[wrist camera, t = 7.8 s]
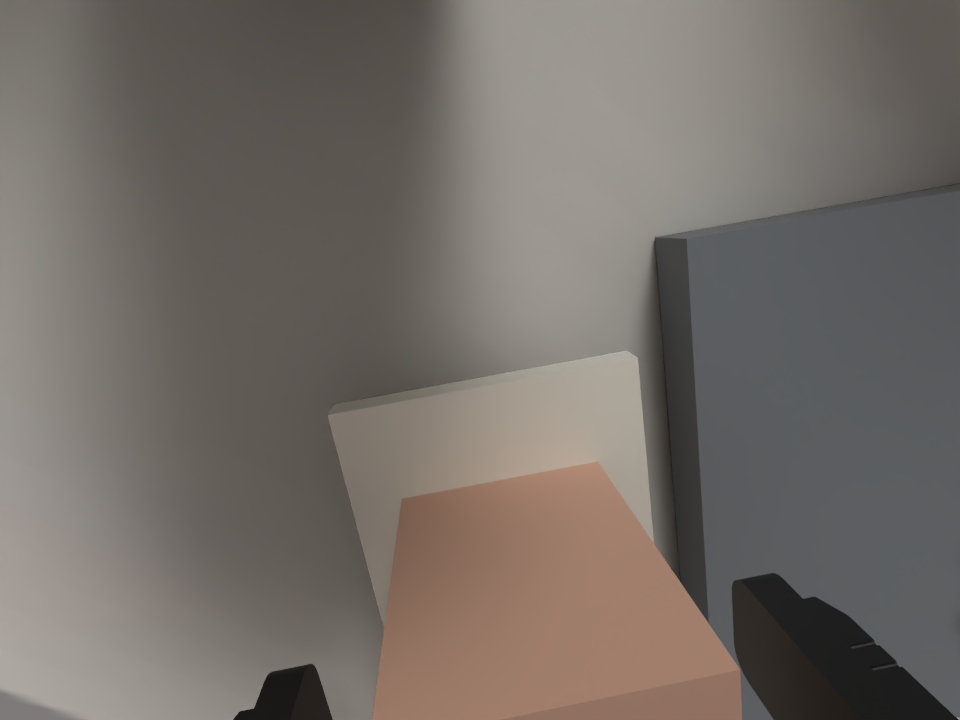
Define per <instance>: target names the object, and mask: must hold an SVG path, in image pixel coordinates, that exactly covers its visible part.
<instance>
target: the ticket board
mask: <svg viewBox="0 0 960 720" xmlns="http://www.w3.org/2000/svg"><path fill="white" fill-rule="evenodd" d="M655 243H656V257H657V270H658V284H659V297H660V311H661V325H662V338H663V352H664V365H665V379H666V392H667V406H668V419H669V433H670V446H671V460H672V473H673V487H674V501H675V514H676V528H677V541H678V555H679V568H680V582H681V584H682V585H683V587H684V588H685V590H686V591H687V593H688V594H689V595H690V597H691V598H692V600H693V601H694V603H695V604H696V606H697V607H698V609H699V610H700V612H701V613H702V614H703V616H704V617H705V619H706V620H707V622H708V623H709V625H710V626H711V628H712V629H713V631H714V632H715V633H716V635H717V636H718V638H719V639H720V641H721V642H722V644H723V645H724V647H725V648H726V650H727V651H728V653H729V654H730V655H731V657H732V658H733V660H734V661H735V663H736V664H737V666H738V667H739V669H740V676H741V701H742V720H774V719H773V718H772V716H771V715H770V713H769V712H768V711H767V709H766V708H765V706H764V705H763V703H762V702H761V700H760V699H759V697H758V696H757V694H756V693H755V691H754V690H753V689H752V687H751V686H750V684H749V683H748V681H747V679H746V677H745V676H744V674H743V672H742V669H741V667H740V665H739V662H738V659H737V656H736V652H735V647H734V632H733V608H732V584H733V582H734V581H735V580H739V579H744V578H749V577H754V576H759V575H764V574H769V573H776V574H778V575H779V576H781V577H782V578H783V579H784V580H785V581H786V582H787V583H788V584H789V585H790V586H791V587H792V588H793V589H794V590H795V591H796V592H797V593H798V594H799V595H800V596H801V597H802V598H803V599H805V598H810V597H817V598H819V599H820V600H822V601H824V602H826V603H827V604H829V605H831V606H833V607H834V608H836V609H838V610H840V611H842V612H843V613H845V614H847V615H848V616H849V617H850V618H851V619H852V620H854V621H855V622H856V623H857V624H858V625H859V626H860V627H861V628H862V629H863V630H864V631H865V632H866V633H867V634H868V635H869V636H870V637H872V638H873V639H874V642H875V644H876V645H880V646H881V647H882V648H883V649H884V650H885V651H886V652H887V653H888V654H889V655H891V656H892V657H893V658H894V659H895V660H896V661H897V664H898V666H899V667H903V668H904V669H905V670H906V671H907V672H909V673H910V674H911V675H912V676H913V677H914V678H915V679H916V680H917V681H918V682H919V683H920V684H921V685H922V686H923V687H924V688H925V689H927V690H928V691H929V692H930V693H931V694H932V695H933V696H934V697H935V698H936V699H937V700H938V701H939V702H940V703H941V704H942V705H943V706H944V707H946V708H947V709H948V710H949V711H950V712H951V713H952V714H953V715H954V716H955V717H960V184H955V185H949V186H943V187H938V188H932V189H926V190H921V191H915V192H909V193H904V194H898V195H893V196H887V197H881V198H876V199H870V200H864V201H859V202H853V203H847V204H842V205H836V206H830V207H825V208H819V209H813V210H808V211H802V212H796V213H791V214H785V215H779V216H774V217H768V218H762V219H757V220H751V221H745V222H740V223H734V224H728V225H723V226H717V227H711V228H706V229H700V230H694V231H689V232H683V233H677V234H672V235H666V236H660V237H655Z"/></svg>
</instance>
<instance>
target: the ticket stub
mask: <svg viewBox="0 0 960 720" xmlns="http://www.w3.org/2000/svg"><path fill="white" fill-rule="evenodd" d="M327 416H328V420H329V423H330V427H331V431H332V435H333V439H334V442H335V446H336V450H337V454H338V458H339V461H340V465H341V469H342V473H343V476H344V480H345V484H346V488H347V492H348V495H349V499H350V503H351V507H352V511H353V514H354V518H355V522H356V526H357V530H358V533H359V537H360V541H361V545H362V548H363V552H364V556H365V560H366V564H367V567H368V571H369V575H370V579H371V583H372V586H373V590H374V594H375V598H376V602H377V605H378V609H379V613H380V617H381V620H382V624H383V628H384V633H383V640H382V648H381V655H380V662H379V670H378V677H377V684H376V692H375V699H374V706H373V714H372V720H742V701H741V676H740V669H739V667H738V666H737V664H736V663H735V661H734V660H733V658H732V657H731V655H730V654H729V653H728V651H727V650H726V648H725V647H724V645H723V644H722V642H721V641H720V639H719V638H718V636H717V635H716V633H715V632H714V631H713V629H712V628H711V626H710V625H709V623H708V622H707V620H706V619H705V617H704V616H703V614H702V613H701V612H700V610H699V609H698V607H697V606H696V604H695V603H694V601H693V600H692V598H691V597H690V595H689V594H688V593H687V591H686V590H685V588H684V587H683V585H682V584H681V582H680V581H679V579H678V578H677V576H676V575H675V573H674V572H673V571H672V569H671V568H670V566H669V565H668V563H667V562H666V560H665V559H664V557H663V556H662V554H661V553H660V552H659V550H658V549H657V547H656V546H655V544H654V536H653V525H652V514H651V502H650V491H649V479H648V468H647V457H646V445H645V434H644V423H643V411H642V400H641V389H640V377H639V366H638V358H637V357H636V356H634V355H633V354H631V353H629V352H628V351H622V352H616V353H611V354H606V355H600V356H595V357H589V358H584V359H578V360H573V361H568V362H562V363H557V364H551V365H546V366H540V367H535V368H529V369H524V370H519V371H513V372H508V373H502V374H497V375H491V376H486V377H481V378H475V379H470V380H464V381H459V382H453V383H448V384H443V385H437V386H432V387H426V388H421V389H415V390H410V391H404V392H399V393H394V394H388V395H383V396H377V397H372V398H366V399H361V400H356V401H350V402H345V403H339V404H334V405H333V407H332V408H331V410H330V412H329V413H328V415H327Z"/></svg>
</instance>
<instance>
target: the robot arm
mask: <svg viewBox="0 0 960 720" xmlns="http://www.w3.org/2000/svg"><path fill="white" fill-rule="evenodd" d="M732 608H733V632H734V647H735V652H736V656H737V659H738V662H739V665H740V667H741V669H742V672H743V674H744V676H745V677H746V679H747V681H748V683H749V684H750V686H751V687H752V689H753V690H754V691H755V693H756V694H757V696H758V697H759V699H760V700H761V702H762V703H763V705H764V706H765V708H766V709H767V711H768V712H769V713H770V715H771V716H772V718H773V719H774V720H958V719H957V718H956V717H955V716H954V715H953V714H952V713H951V712H950V711H949V710H948V709H947V708H946V707H944V706H943V705H942V704H941V703H940V702H939V701H938V700H937V699H936V698H935V697H934V696H933V695H932V694H931V693H930V692H929V691H928V690H927V689H925V688H924V687H923V686H922V685H921V684H920V683H919V682H918V681H917V680H916V679H915V678H914V677H913V676H912V675H911V674H910V673H909V672H907V671H906V670H905V669H904V668H903V667H899V666H898V664H897V661H896V660H895V659H894V658H893V657H892V656H891V655H889V654H888V653H887V652H886V651H885V650H884V649H883V648H882V647H881V646H880V645H876V644H875V642H874V639H873V638H872V637H870V636H869V635H868V634H867V633H866V632H865V631H864V630H863V629H862V628H861V627H860V626H859V625H858V624H857V623H856V622H855V621H854V620H852V619H851V618H850V617H849V616H848V615H847V614H845V613H843V612H842V611H840V610H838V609H836V608H834V607H833V606H831V605H829V604H827V603H826V602H824V601H822V600H820V599H819V598H817V597H810V598H805V599H803V598H802V597H801V596H800V595H799V594H798V593H797V592H796V591H795V590H794V589H793V588H792V587H791V586H790V585H789V584H788V583H787V582H786V581H785V580H784V579H783V578H782V577H781V576H779V575H778V574H776V573H769V574H764V575H759V576H754V577H749V578H744V579H739V580H735V581H734V582H733V584H732ZM233 720H332V716H331V713H330V710H329V707H328V704H327V701H326V697H325V694H324V691H323V688H322V685H321V681H320V678H319V675H318V672H317V669H316V668H315V666H314V665H313V664H309V665H304V666H299V667H294V668H289V669H284V670H279V671H274V672H271V673H270V674H269V675H268V676H267V678H266V680H265V682H264V684H263V687H262V690H261V692H260V695H259V697H258V700H257V703H256V705H255V708H254V709H250V710H245V711H240V712H239V713H238V714H237V716H236V717H235V718H234V719H233Z"/></svg>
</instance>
